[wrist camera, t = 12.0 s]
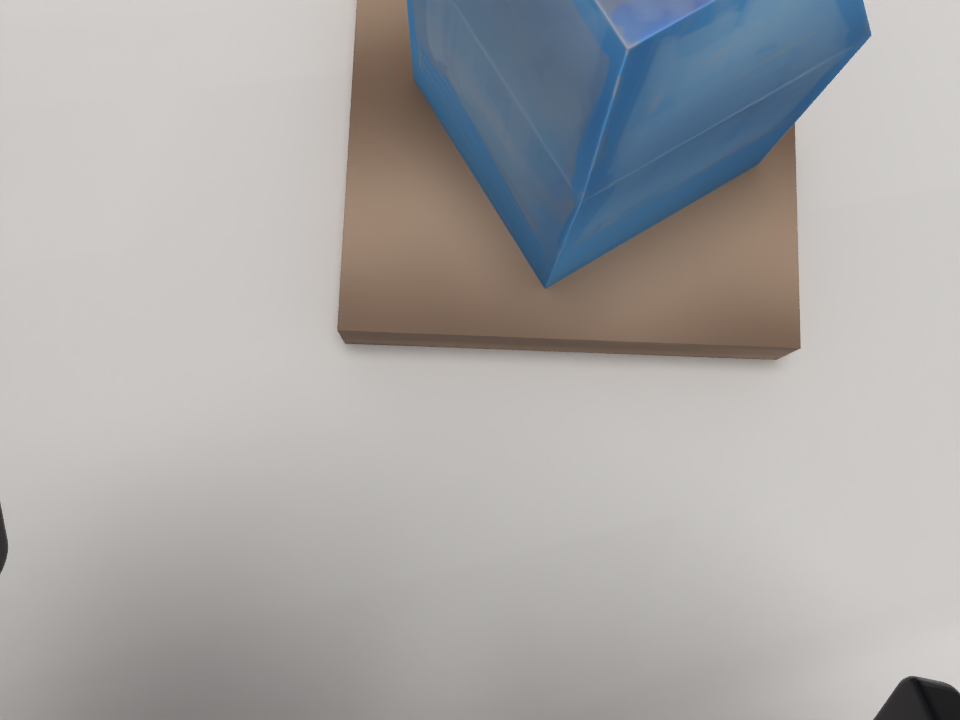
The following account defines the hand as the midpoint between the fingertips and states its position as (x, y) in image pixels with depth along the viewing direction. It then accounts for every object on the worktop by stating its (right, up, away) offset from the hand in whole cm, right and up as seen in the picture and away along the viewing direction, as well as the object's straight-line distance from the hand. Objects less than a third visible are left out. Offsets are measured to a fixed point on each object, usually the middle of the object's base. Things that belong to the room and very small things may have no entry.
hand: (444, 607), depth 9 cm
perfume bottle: (+3, +8, +14) cm, 16 cm away
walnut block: (+3, +8, +16) cm, 18 cm away
